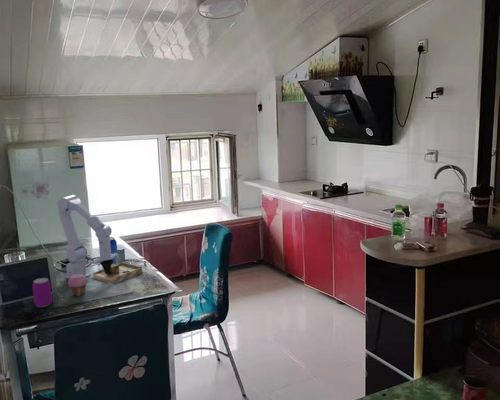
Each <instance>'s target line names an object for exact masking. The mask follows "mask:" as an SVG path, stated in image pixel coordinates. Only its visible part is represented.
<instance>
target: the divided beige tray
mask: <svg viewBox="0 0 500 400" xmlns="http://www.w3.org/2000/svg"><path fill="white" fill-rule="evenodd" d="M117 265H119V273H118V274H116V275H113V276H112V275H109V274H105V272H104V269H103V268H102V269H100V270H97V271H94V272H92V274H93V278H94V279H96V280H99V281H103V282H106V283H110V284H113V285H114V284H117V283H119V282H121V281H125V280H127V279H130V278H133V277H135V276H137V275H140V274H143V266H140V265H136V264H132V263H130V262H129V263H128V262H124V261H120V263H118V264H117Z"/></svg>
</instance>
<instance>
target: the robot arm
mask: <svg viewBox="0 0 500 400" xmlns="http://www.w3.org/2000/svg"><path fill="white" fill-rule="evenodd" d="M81 201H82V200H81V199H80V198H79V197H78V196H77V195H76V194H70V195H68V196H64V197H60V198H59V199H58V201H57V202H56V205H57V208H58V209H57V211H58V217H59V219H60V223H61V225H62V228H63V231H64V232H63V233H64V235H65V238H66V241H67V244H68V246H67V248H66V259H68V261H69V263H67V264H66V265H65V266H66V267H65V269H66V278H67V279H69V278H70V277H71V276H73V275H77V274H82V275H84V276H85V277H86V278H87V277H89V276H91V274H90V273H87V268H86V267H87V266H86V257H87V256H88V250H87V248H86V247H85V245H84V243H83V242H81V241H80V240H79V236H78V234H77V230H76V228H75V225H74V221H73V219H72V216H71V213H72V211H76V212H77V213H78V214H79V215H80V216H82V217H83V219H85V220H86V224H87V225H88V226H89V227H90V228H91V229H92V230H93V231H94V232H95V236H96V238H97V241H98V246H99V247H98V248H99V249H98V250H99V257H98V258H95V259H94V260H93V261H92V262H93V263H92V264H93V265H98V264H100V266H101V267H102V269H104V272H105V274H109V273H110V268H111V265H112V263H113V260H111V259H113V258H117V257H118V258H119V254H117V253H118V252H117V253H115V254H111V245H110V237H111V234H112V228H111V227H110V226H109V225H108V224H105V223H103V222H102V220H101V219H99V217H98V216H96V215H92V214H91V213H90V212H89V210H88V209H87V208H86V207H85V206H84V205H83V204H82V202H81Z"/></svg>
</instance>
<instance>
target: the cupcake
mask: <svg viewBox="0 0 500 400" xmlns="http://www.w3.org/2000/svg"><path fill="white" fill-rule="evenodd" d="M87 284H88V278H87V276H86V277H85V276H84V275H82V274H77V275H73V276H71V277H70V278H68V282H67V285H68V286H69V287H70V289H71V292H72V294H73V295H74V296H77V297H78V296H82V295H83V294H85V293H86V292H87V289H86V287H87Z"/></svg>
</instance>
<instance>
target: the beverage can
mask: <svg viewBox="0 0 500 400" xmlns="http://www.w3.org/2000/svg"><path fill="white" fill-rule="evenodd" d="M32 292H33V294H32V295H33V302H34V306H36V307H37V308H46V307H49V306H50V305H51V304H52V303H53V297H52V287H51V282H50V280H49V278H48V277H41V278H40V277H39V278H36V279H34V280H33V282H32Z"/></svg>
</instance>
